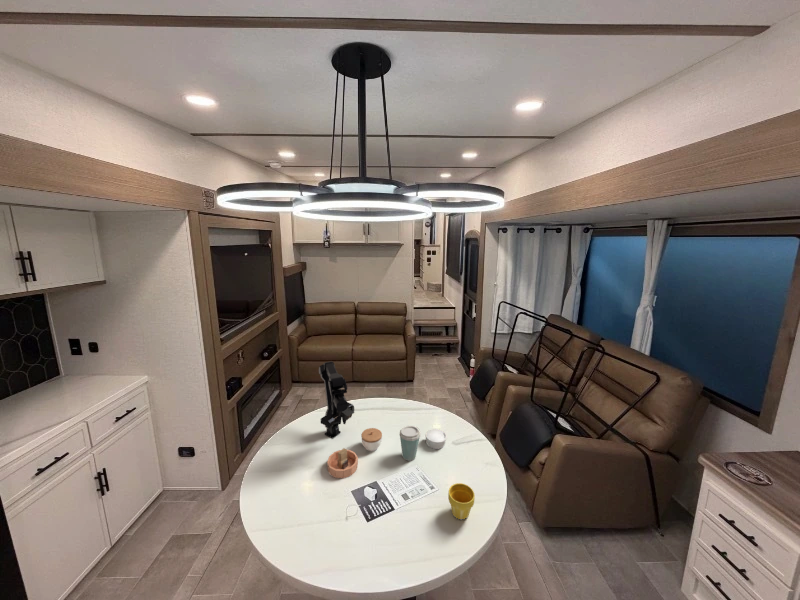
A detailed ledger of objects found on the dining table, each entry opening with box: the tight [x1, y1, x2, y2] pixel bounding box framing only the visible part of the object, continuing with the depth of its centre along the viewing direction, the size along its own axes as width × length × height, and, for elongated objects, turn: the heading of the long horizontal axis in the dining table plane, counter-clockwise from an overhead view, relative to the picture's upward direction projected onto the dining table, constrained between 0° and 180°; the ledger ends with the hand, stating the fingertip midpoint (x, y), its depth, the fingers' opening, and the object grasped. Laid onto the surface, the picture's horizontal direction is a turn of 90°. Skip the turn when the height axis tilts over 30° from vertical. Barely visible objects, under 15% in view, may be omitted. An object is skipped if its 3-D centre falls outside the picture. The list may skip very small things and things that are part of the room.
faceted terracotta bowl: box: [326, 449, 359, 479], centre depth 152 cm, size 14×14×4 cm
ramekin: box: [424, 428, 448, 450], centre depth 169 cm, size 11×11×5 cm
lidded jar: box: [360, 427, 383, 452], centre depth 165 cm, size 11×11×9 cm
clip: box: [337, 460, 348, 469], centre depth 152 cm, size 4×3×3 cm
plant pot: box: [447, 482, 476, 520], centre depth 128 cm, size 10×10×10 cm
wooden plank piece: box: [338, 447, 348, 469], centre depth 151 cm, size 2×4×8 cm, turn 148°
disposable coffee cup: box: [399, 425, 422, 462], centre depth 159 cm, size 11×11×15 cm
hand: (338, 428), depth 161 cm, fingers open, 9 cm apart
